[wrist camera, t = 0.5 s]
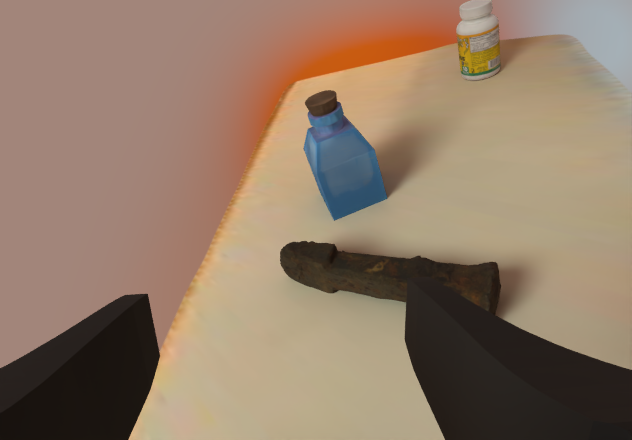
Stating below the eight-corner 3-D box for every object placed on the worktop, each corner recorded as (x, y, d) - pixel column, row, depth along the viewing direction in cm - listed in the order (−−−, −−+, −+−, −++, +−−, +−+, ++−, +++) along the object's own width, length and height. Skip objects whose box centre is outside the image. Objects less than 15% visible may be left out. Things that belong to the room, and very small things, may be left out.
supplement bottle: (502, 76, 57) (499, 3, 52) (461, 84, 59) (454, 14, 53) (498, 61, 61) (495, -9, 55) (460, 69, 63) (453, 3, 57)
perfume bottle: (334, 220, 44) (297, 121, 37) (320, 192, 49) (285, 100, 42) (387, 198, 44) (360, 95, 37) (368, 172, 49) (341, 77, 42)
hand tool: (505, 290, 32) (502, 247, 29) (495, 333, 29) (491, 291, 26) (302, 257, 42) (287, 223, 39) (282, 287, 40) (264, 253, 37)
